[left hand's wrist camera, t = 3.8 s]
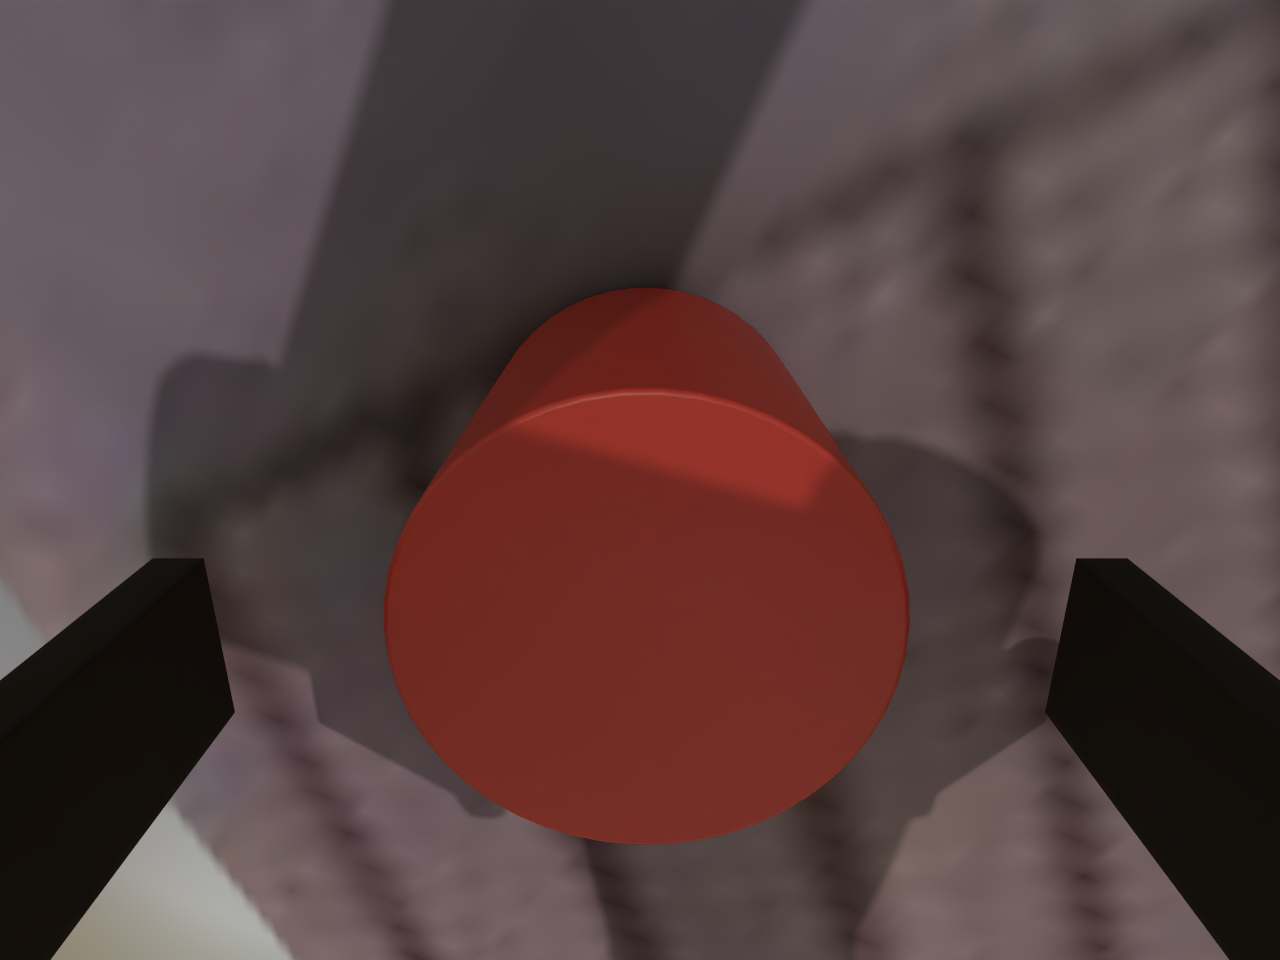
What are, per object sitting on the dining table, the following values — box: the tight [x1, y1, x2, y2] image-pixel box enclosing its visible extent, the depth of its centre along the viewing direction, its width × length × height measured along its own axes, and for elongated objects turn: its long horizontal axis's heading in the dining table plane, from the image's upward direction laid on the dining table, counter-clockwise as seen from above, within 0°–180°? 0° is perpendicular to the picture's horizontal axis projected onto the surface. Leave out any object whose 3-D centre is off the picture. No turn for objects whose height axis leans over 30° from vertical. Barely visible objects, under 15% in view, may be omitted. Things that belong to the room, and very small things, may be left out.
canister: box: [384, 288, 910, 844], centre depth 16 cm, size 8×8×9 cm
